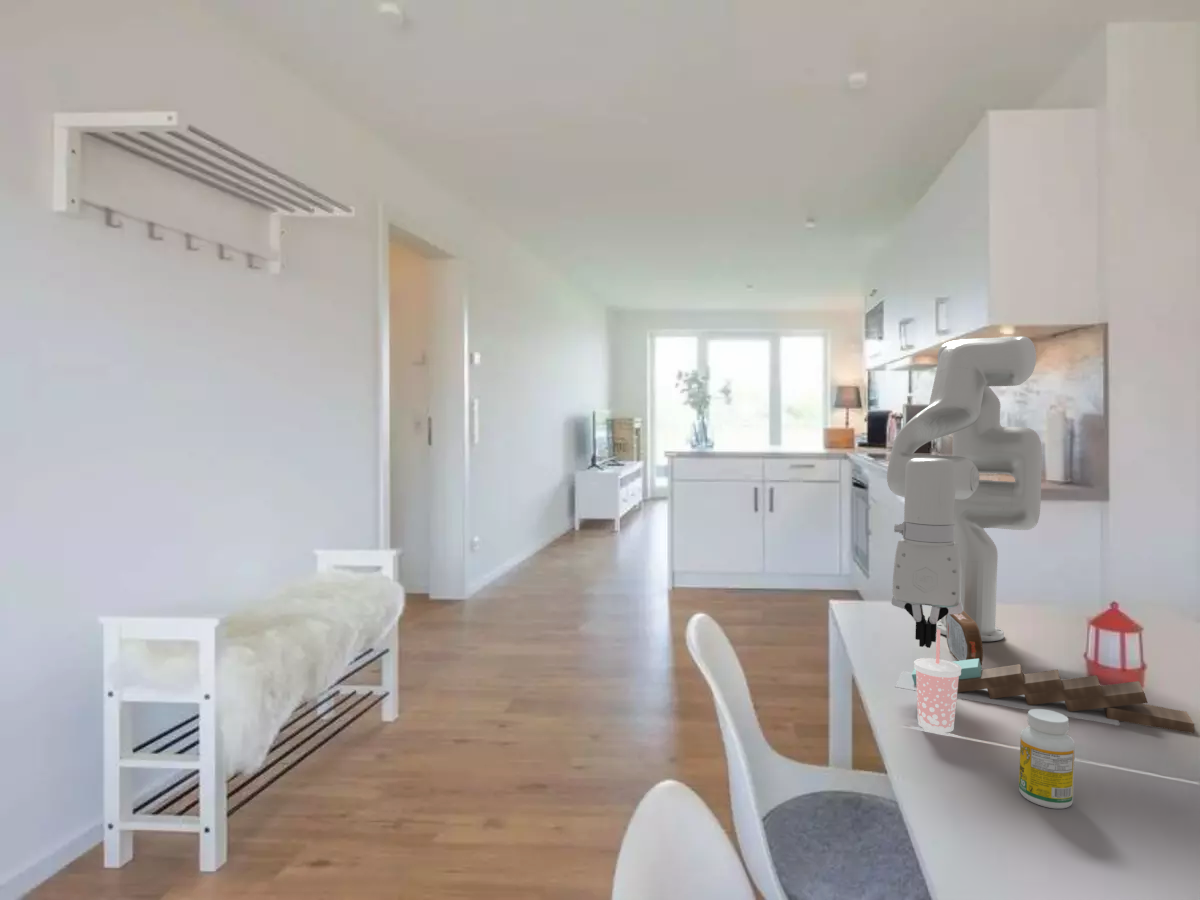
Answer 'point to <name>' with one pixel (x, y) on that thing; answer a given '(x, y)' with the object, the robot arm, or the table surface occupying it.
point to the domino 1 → (964, 669)
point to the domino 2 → (993, 678)
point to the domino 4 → (1069, 691)
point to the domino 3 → (1030, 685)
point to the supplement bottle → (1047, 760)
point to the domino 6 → (1151, 716)
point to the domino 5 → (1111, 697)
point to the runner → (1016, 702)
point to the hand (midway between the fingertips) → (925, 644)
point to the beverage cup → (936, 692)
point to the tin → (963, 637)
